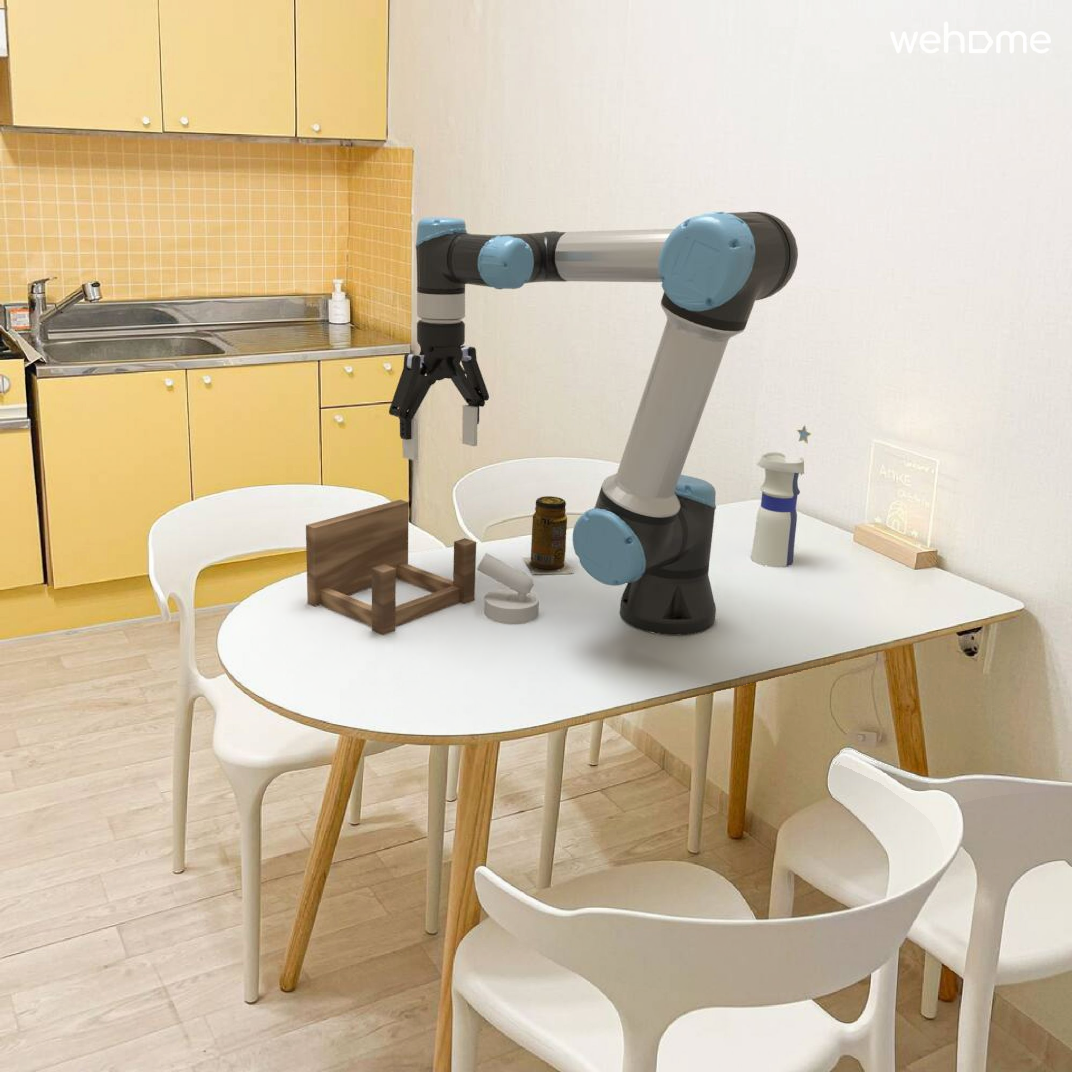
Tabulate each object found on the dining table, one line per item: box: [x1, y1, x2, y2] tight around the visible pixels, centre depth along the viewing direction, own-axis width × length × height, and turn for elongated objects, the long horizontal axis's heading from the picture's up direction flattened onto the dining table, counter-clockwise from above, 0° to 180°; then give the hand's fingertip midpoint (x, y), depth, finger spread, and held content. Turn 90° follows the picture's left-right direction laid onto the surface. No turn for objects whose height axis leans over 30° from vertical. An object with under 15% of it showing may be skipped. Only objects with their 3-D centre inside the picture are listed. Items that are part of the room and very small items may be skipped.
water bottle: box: [750, 424, 812, 568], centre depth 208 cm, size 8×8×25 cm
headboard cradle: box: [305, 499, 477, 636], centre depth 183 cm, size 18×20×13 cm
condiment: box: [522, 495, 574, 575], centre depth 202 cm, size 7×8×12 cm
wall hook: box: [476, 552, 540, 625], centre depth 181 cm, size 9×10×10 cm
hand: (440, 451), depth 188 cm, fingers open, 13 cm apart
